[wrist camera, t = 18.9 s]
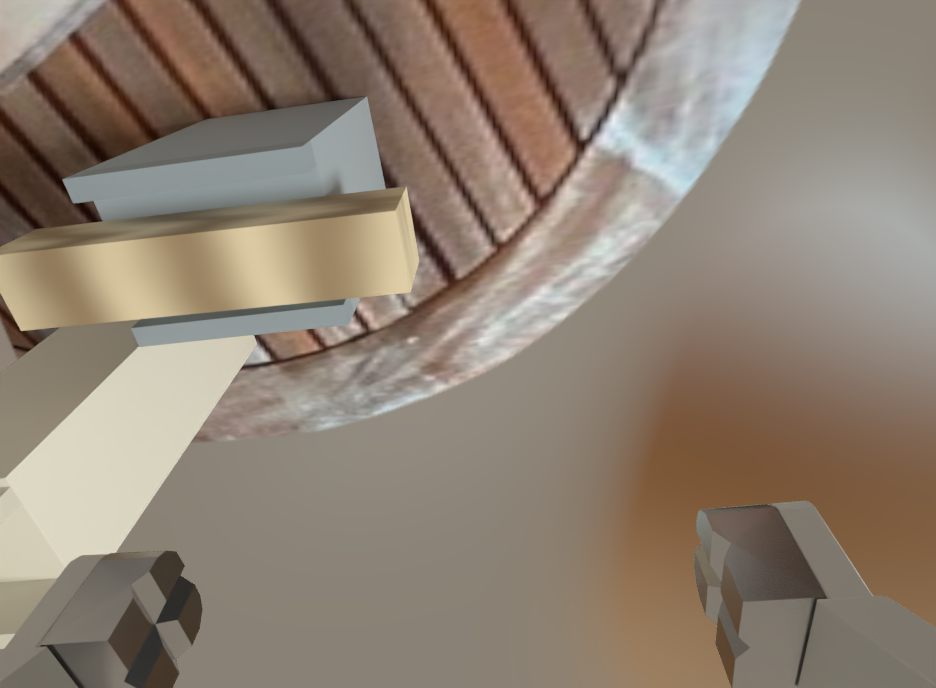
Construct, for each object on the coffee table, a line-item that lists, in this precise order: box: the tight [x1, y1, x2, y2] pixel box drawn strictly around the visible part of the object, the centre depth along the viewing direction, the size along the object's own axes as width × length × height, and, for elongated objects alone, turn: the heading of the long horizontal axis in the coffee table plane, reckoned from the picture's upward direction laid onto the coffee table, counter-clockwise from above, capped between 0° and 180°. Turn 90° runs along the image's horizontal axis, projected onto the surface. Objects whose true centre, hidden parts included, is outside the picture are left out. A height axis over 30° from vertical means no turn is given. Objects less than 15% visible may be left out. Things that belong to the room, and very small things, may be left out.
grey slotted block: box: [62, 96, 386, 347], centre depth 38 cm, size 12×9×17 cm
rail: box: [0, 187, 419, 331], centre depth 30 cm, size 20×4×4 cm, turn 97°
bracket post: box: [0, 319, 257, 649], centre depth 39 cm, size 8×8×29 cm
